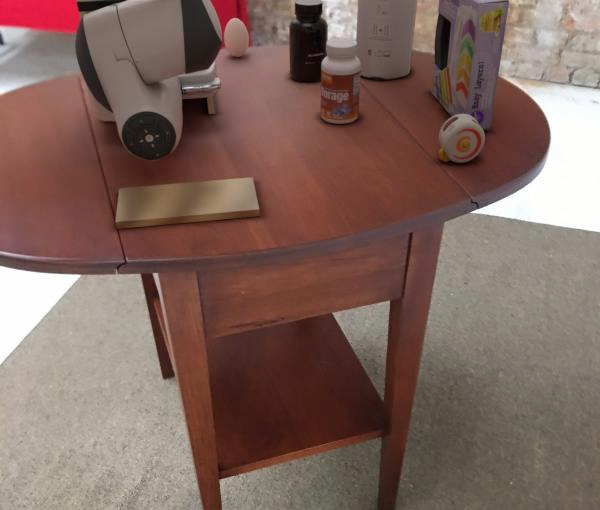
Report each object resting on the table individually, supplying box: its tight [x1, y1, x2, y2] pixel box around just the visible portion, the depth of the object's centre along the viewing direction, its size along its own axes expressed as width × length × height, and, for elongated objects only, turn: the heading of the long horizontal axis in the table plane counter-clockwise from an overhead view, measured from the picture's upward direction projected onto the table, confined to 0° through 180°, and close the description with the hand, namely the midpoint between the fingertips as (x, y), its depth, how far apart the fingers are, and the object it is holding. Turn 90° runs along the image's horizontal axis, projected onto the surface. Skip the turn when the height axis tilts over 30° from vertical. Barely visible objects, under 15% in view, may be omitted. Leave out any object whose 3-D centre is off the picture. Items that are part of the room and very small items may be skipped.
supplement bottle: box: [288, 0, 329, 83], centre depth 112 cm, size 7×7×12 cm
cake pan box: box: [430, 0, 510, 132], centre depth 98 cm, size 19×5×18 cm, turn 7°
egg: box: [223, 17, 250, 58], centre depth 123 cm, size 5×5×7 cm
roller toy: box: [438, 114, 486, 164], centre depth 89 cm, size 4×6×6 cm
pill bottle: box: [320, 37, 362, 125], centre depth 99 cm, size 6×6×11 cm
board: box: [114, 176, 261, 230], centre depth 83 cm, size 18×9×1 cm, turn 98°
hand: (153, 63), depth 103 cm, fingers closed on ink box, 5 cm apart
